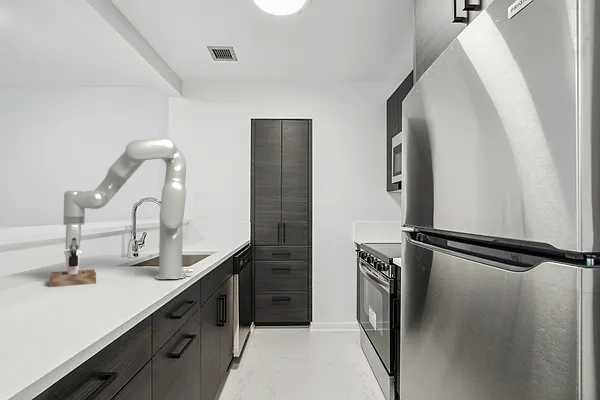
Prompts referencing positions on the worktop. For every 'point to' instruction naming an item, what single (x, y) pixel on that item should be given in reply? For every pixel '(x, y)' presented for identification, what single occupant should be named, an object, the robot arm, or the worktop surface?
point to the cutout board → (72, 278)
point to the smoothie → (75, 268)
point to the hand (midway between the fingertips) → (73, 264)
